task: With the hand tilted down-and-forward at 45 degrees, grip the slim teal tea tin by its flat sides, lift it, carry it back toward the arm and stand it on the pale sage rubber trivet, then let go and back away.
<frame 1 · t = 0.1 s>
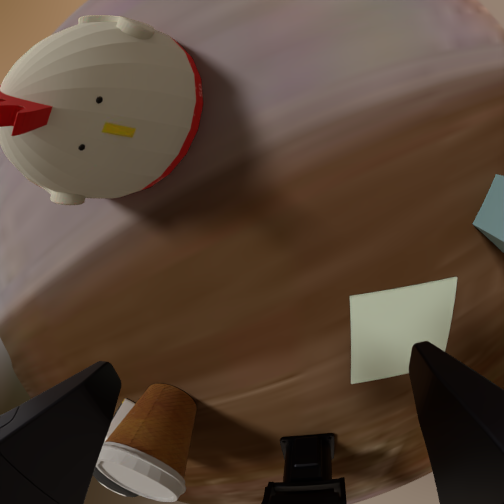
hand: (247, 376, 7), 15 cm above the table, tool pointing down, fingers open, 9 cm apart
kitchen timer: (122, 110, 19), on the table
medicine bottle: (146, 420, 32), on the table
trivet: (403, 335, 23), on the table
tea tin: (500, 214, 18), on the table
disposable coffee cup: (171, 400, 30), on the table
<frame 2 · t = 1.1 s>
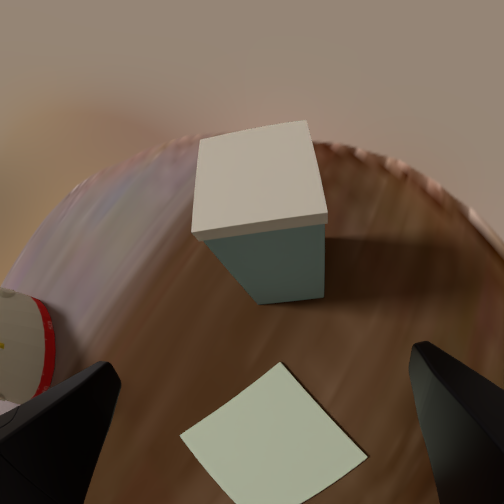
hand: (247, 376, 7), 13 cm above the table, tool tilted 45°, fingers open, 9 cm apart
kitchen timer: (26, 351, 26), on the table
trivet: (269, 452, 17), on the table
tea tin: (288, 270, 22), on the table
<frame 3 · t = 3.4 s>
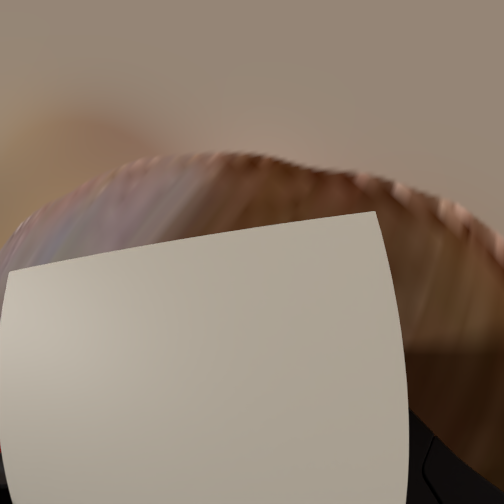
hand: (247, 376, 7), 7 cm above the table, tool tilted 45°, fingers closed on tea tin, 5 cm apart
tea tin: (281, 403, 13), on the table, touching gripper
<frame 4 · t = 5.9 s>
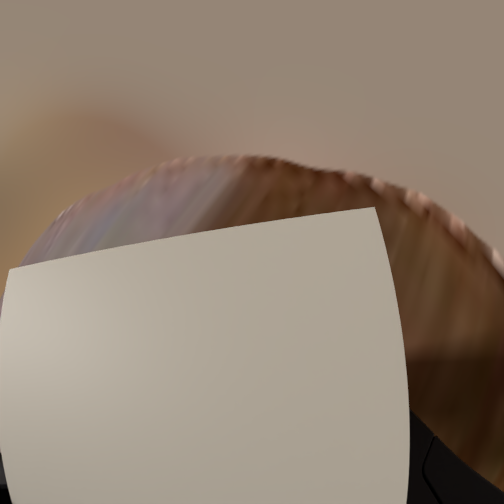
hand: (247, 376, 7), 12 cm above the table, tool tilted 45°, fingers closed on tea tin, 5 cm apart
tea tin: (281, 402, 13), point 6 cm above the table, touching gripper
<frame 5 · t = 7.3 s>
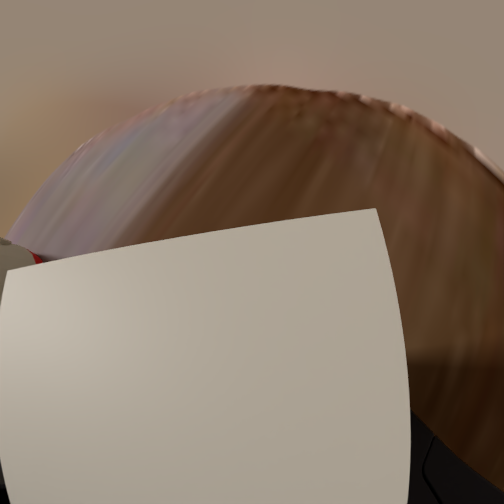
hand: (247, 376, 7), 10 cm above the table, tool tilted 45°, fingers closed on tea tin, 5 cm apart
kitchen timer: (18, 309, 24), on the table
tea tin: (281, 403, 12), point 4 cm above the table, touching gripper
when the fingers open (8 cm above the table, at t = 8.2 s): tea tin drops 1 cm, resting on trivet.
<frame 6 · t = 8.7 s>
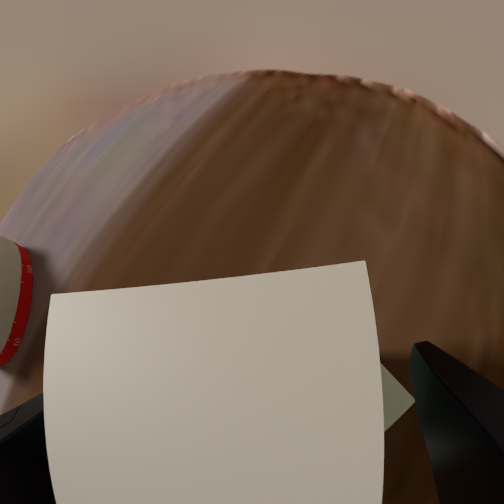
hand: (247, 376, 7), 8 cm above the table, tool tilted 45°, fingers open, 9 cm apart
kitchen timer: (3, 304, 22), on the table
trivet: (284, 401, 14), on the table
tea tin: (284, 401, 13), resting on trivet
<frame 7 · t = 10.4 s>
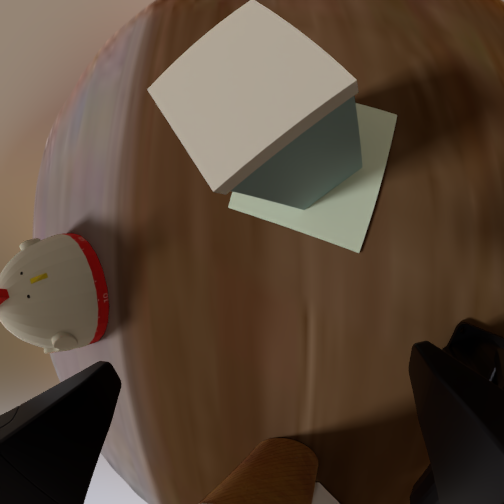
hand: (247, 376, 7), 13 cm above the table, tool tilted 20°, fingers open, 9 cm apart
kitchen timer: (77, 289, 31), on the table
medicine bottle: (307, 502, 21), on the table
trivet: (311, 160, 19), on the table
tea tin: (311, 159, 19), resting on trivet
disposable coffee cup: (286, 458, 22), on the table
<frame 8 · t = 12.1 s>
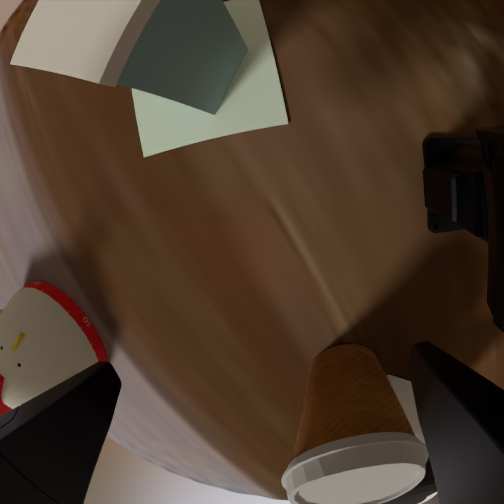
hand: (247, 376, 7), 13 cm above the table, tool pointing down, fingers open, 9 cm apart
kitchen timer: (61, 333, 27), on the table
medicine bottle: (389, 401, 24), on the table
trivet: (198, 70, 16), on the table
tea tin: (197, 69, 16), resting on trivet
disposable coffee cup: (343, 369, 23), on the table
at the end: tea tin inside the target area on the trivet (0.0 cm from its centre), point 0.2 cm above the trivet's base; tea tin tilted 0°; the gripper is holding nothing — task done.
